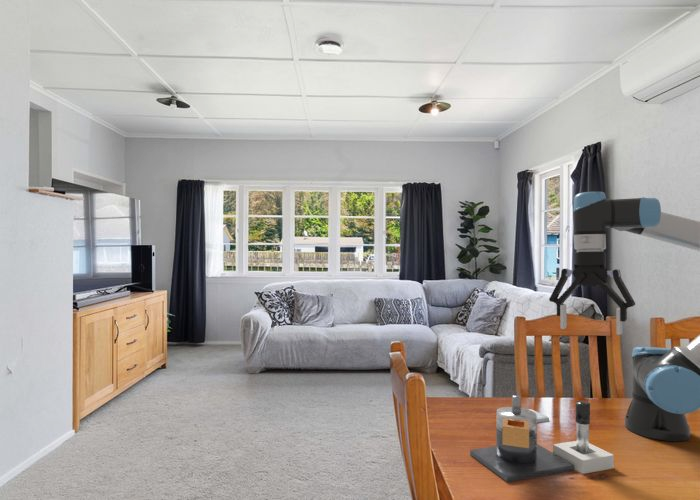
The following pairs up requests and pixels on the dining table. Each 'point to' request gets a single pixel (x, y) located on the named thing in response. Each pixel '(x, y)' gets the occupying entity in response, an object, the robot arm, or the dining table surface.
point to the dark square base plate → (520, 460)
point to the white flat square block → (585, 457)
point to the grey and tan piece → (516, 423)
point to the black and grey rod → (582, 426)
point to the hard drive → (539, 416)
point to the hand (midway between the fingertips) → (590, 331)
